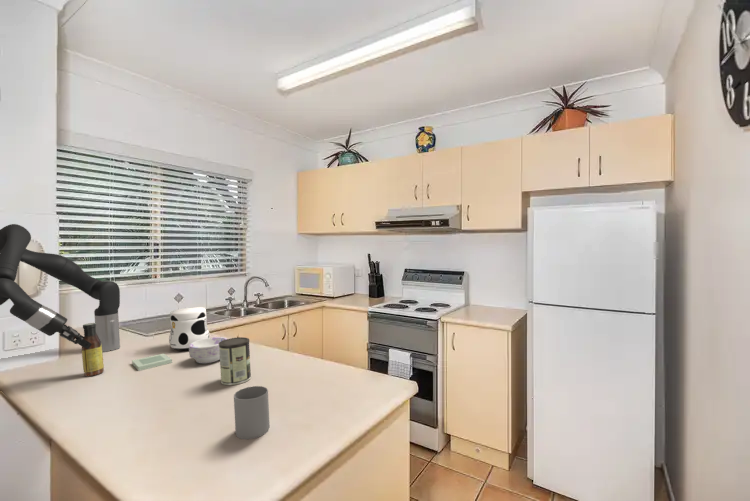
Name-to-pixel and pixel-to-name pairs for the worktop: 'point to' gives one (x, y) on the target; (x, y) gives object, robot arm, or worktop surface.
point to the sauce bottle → (92, 352)
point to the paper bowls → (206, 350)
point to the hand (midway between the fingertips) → (88, 344)
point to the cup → (251, 412)
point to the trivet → (151, 361)
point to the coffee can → (235, 361)
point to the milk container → (187, 327)
